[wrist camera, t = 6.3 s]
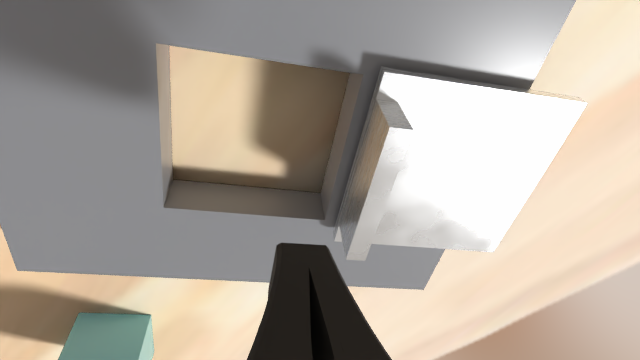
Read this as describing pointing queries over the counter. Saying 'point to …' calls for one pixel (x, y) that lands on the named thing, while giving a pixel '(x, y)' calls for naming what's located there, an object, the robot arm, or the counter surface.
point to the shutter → (447, 161)
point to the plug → (109, 337)
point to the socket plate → (156, 136)
